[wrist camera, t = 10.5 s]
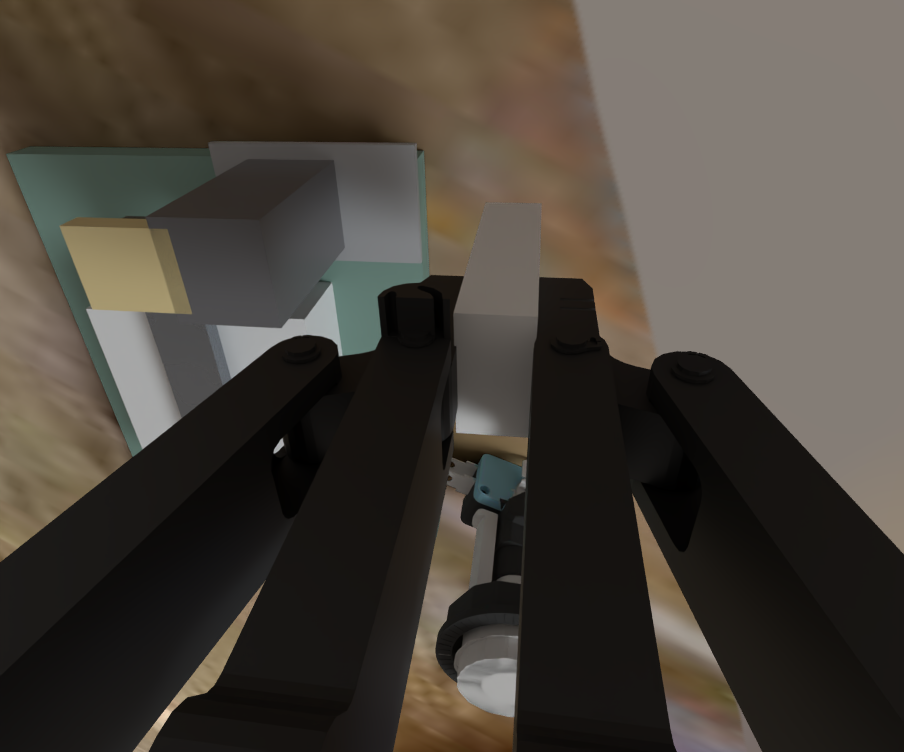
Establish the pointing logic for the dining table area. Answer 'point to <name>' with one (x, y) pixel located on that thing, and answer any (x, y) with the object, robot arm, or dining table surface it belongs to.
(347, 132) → the dining table surface
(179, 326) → the strap
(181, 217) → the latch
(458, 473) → the push button
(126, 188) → the board
